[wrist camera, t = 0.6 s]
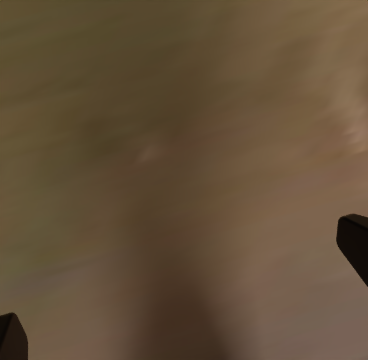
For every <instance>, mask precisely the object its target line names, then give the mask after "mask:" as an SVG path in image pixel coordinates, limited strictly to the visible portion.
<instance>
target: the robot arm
mask: <svg viewBox="0 0 368 360" xmlns="http://www.w3.org/2000/svg"><path fill="white" fill-rule="evenodd" d="M336 241H337V245H338V247H339V249H340V250H341V252H342V253H343V254H344V256H345V257H346V258H347V260H348V261H349V262H350V264H351V265H352V266H353V268H354V269H355V270H356V272H357V273H358V275H359V276H360V277H361V279H362V280H363V281H364V283H365V284H366V285H367V286H368V217H364V216H361V215H357V214H349V215H346V216H342V217H340V218H339V220H338V227H337V237H336ZM0 360H28V340H27V336H26V333H25V331H24V329H23V327H22V325H21V323H20V321H19V319H18V317H17V315H16V314H15V313H8V314H4V315H1V316H0Z"/></svg>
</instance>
